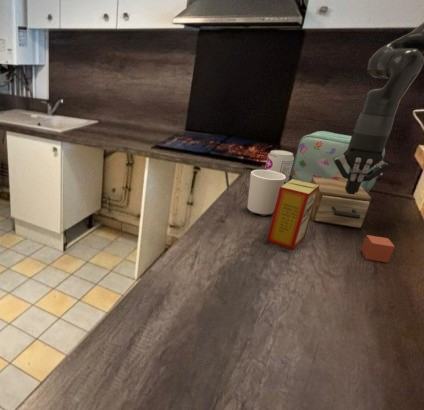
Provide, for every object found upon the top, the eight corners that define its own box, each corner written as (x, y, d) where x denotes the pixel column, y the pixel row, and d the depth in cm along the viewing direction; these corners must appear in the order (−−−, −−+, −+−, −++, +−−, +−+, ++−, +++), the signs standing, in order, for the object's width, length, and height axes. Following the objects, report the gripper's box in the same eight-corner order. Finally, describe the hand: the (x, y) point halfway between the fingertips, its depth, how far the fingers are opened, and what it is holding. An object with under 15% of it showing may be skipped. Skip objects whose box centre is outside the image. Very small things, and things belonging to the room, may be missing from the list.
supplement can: (261, 194, 129) (270, 154, 123) (259, 187, 136) (267, 148, 130) (286, 198, 126) (296, 156, 120) (282, 190, 133) (292, 151, 127)
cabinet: (360, 228, 105) (371, 198, 101) (311, 220, 110) (320, 191, 106) (348, 209, 118) (357, 182, 114) (304, 203, 122) (312, 176, 118)
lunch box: (376, 198, 127) (398, 139, 118) (363, 204, 122) (386, 142, 113) (299, 177, 147) (313, 125, 139) (286, 182, 142) (300, 128, 133)
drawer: (365, 234, 99) (375, 209, 96) (318, 227, 103) (326, 202, 100) (349, 210, 115) (356, 187, 112) (308, 204, 119) (315, 182, 116)
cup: (247, 203, 121) (254, 167, 116) (278, 210, 116) (288, 173, 111) (239, 213, 114) (247, 175, 109) (273, 221, 109) (283, 182, 103)
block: (382, 254, 92) (388, 238, 90) (388, 263, 88) (395, 246, 86) (360, 250, 93) (366, 234, 92) (365, 258, 89) (372, 242, 88)
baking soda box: (292, 249, 93) (308, 192, 87) (266, 240, 97) (280, 185, 91) (304, 237, 99) (320, 183, 93) (279, 229, 104) (293, 177, 97)
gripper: (397, 131, 94) (374, 192, 101) (338, 126, 99) (320, 185, 105) (408, 137, 88) (383, 202, 95) (344, 131, 92) (325, 194, 99)
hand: (350, 193), depth 100 cm, fingers closed
